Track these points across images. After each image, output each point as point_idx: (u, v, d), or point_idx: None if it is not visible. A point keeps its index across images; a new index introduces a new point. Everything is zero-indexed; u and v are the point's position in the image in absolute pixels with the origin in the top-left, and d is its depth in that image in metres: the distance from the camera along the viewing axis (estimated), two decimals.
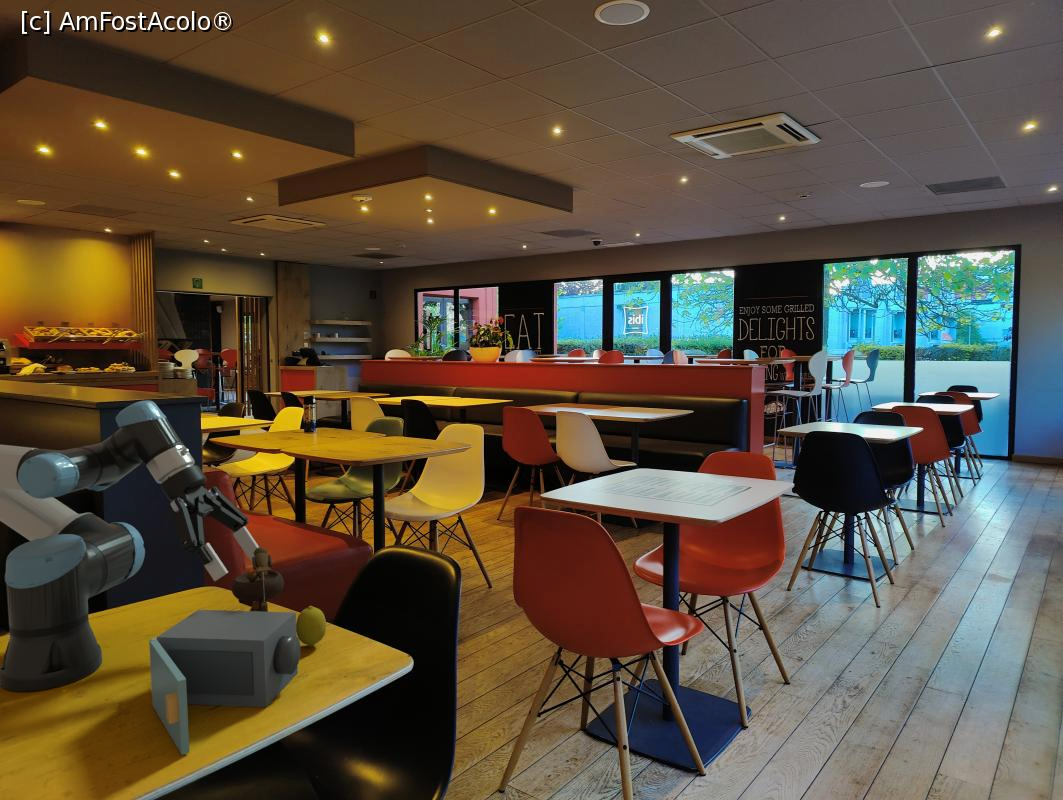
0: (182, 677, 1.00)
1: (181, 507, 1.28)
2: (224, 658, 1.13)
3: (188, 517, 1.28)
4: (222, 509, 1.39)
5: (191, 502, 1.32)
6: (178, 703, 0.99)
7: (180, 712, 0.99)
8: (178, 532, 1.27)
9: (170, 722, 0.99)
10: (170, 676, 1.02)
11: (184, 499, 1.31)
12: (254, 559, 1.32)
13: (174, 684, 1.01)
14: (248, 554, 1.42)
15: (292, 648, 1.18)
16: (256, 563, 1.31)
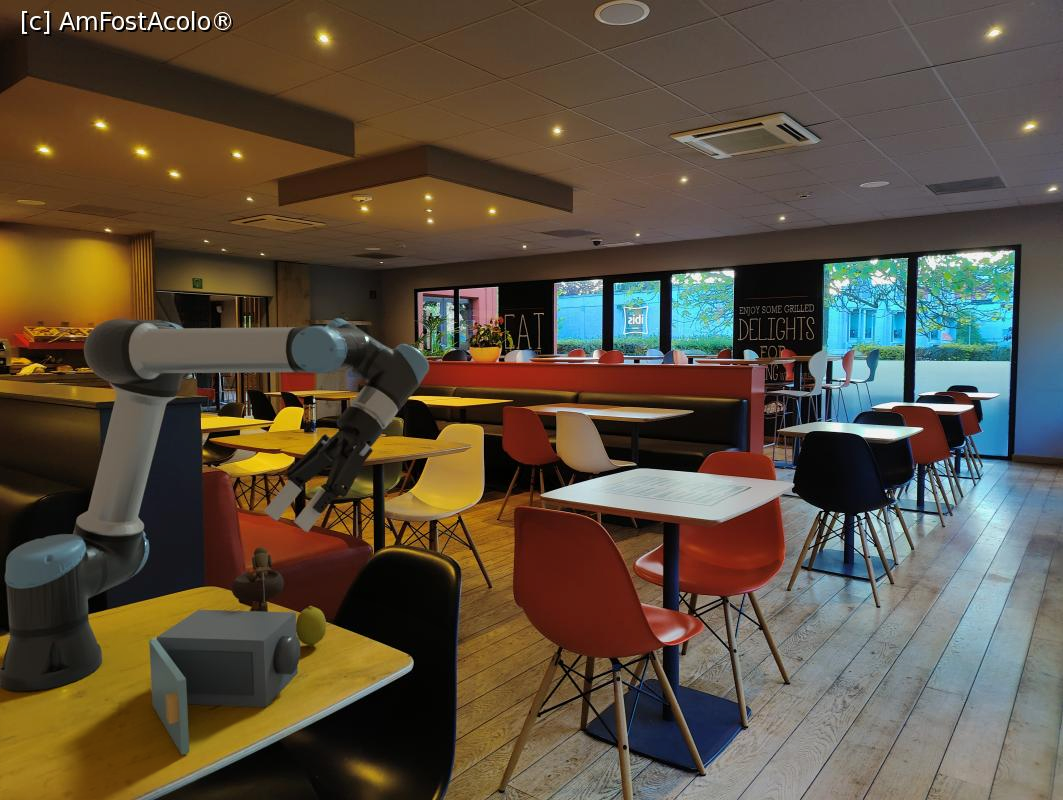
0: (182, 677, 1.00)
1: (365, 458, 1.18)
2: (224, 658, 1.13)
3: None
4: None
5: None
6: (178, 703, 0.99)
7: (180, 712, 0.99)
8: (347, 470, 1.14)
9: (170, 722, 0.99)
10: (170, 676, 1.02)
11: None
12: (254, 559, 1.32)
13: (174, 684, 1.01)
14: (272, 506, 1.19)
15: (292, 648, 1.18)
16: (256, 563, 1.31)
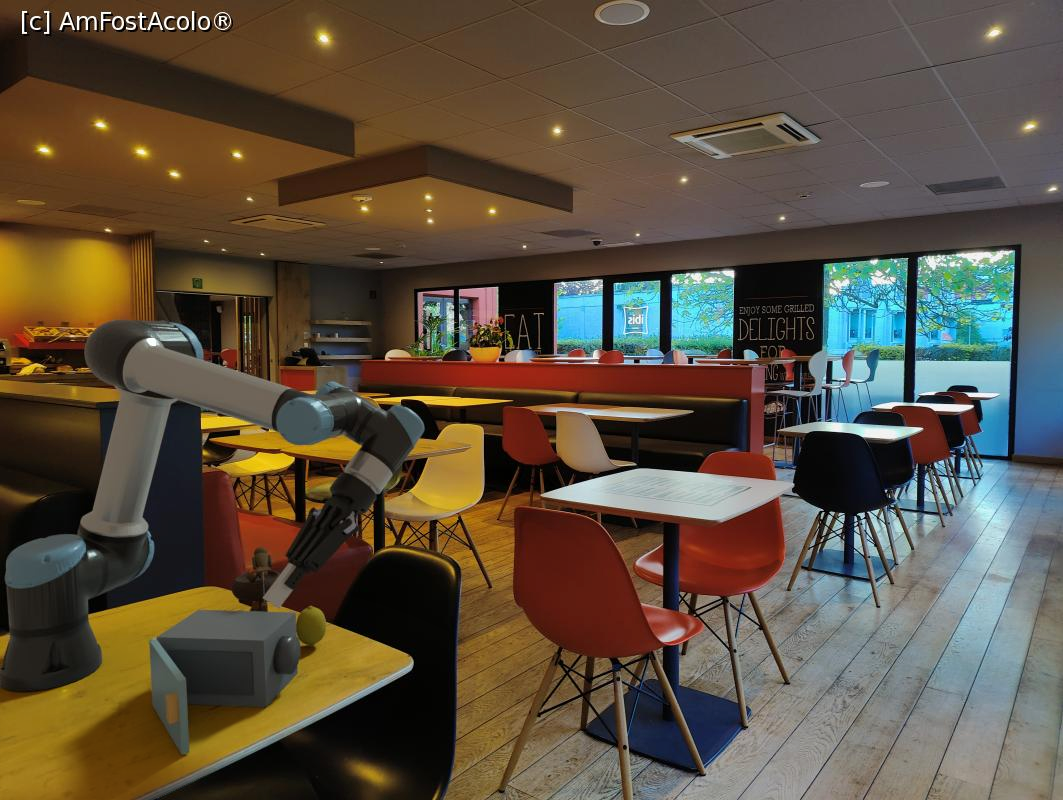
0: (182, 677, 1.00)
1: (349, 536, 1.15)
2: (224, 658, 1.13)
3: None
4: None
5: None
6: (178, 703, 0.99)
7: (180, 712, 0.99)
8: (322, 548, 1.13)
9: (170, 722, 0.99)
10: (170, 676, 1.02)
11: (354, 519, 1.17)
12: (254, 559, 1.32)
13: (174, 684, 1.01)
14: None
15: (292, 648, 1.18)
16: (256, 563, 1.31)
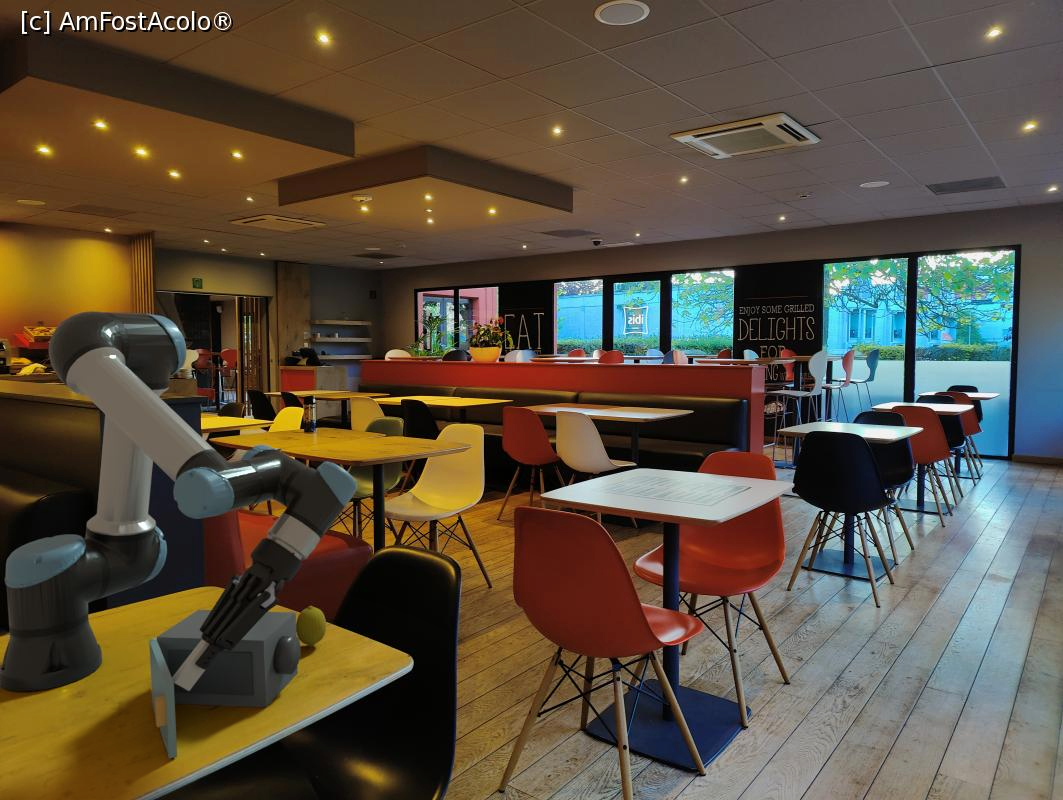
0: (170, 680, 0.99)
1: (267, 610, 1.06)
2: (224, 658, 1.13)
3: None
4: None
5: None
6: (166, 706, 0.99)
7: (168, 715, 0.98)
8: (237, 625, 1.04)
9: (158, 725, 0.99)
10: (161, 678, 1.02)
11: (274, 590, 1.08)
12: None
13: (163, 687, 1.00)
14: None
15: (292, 648, 1.18)
16: None
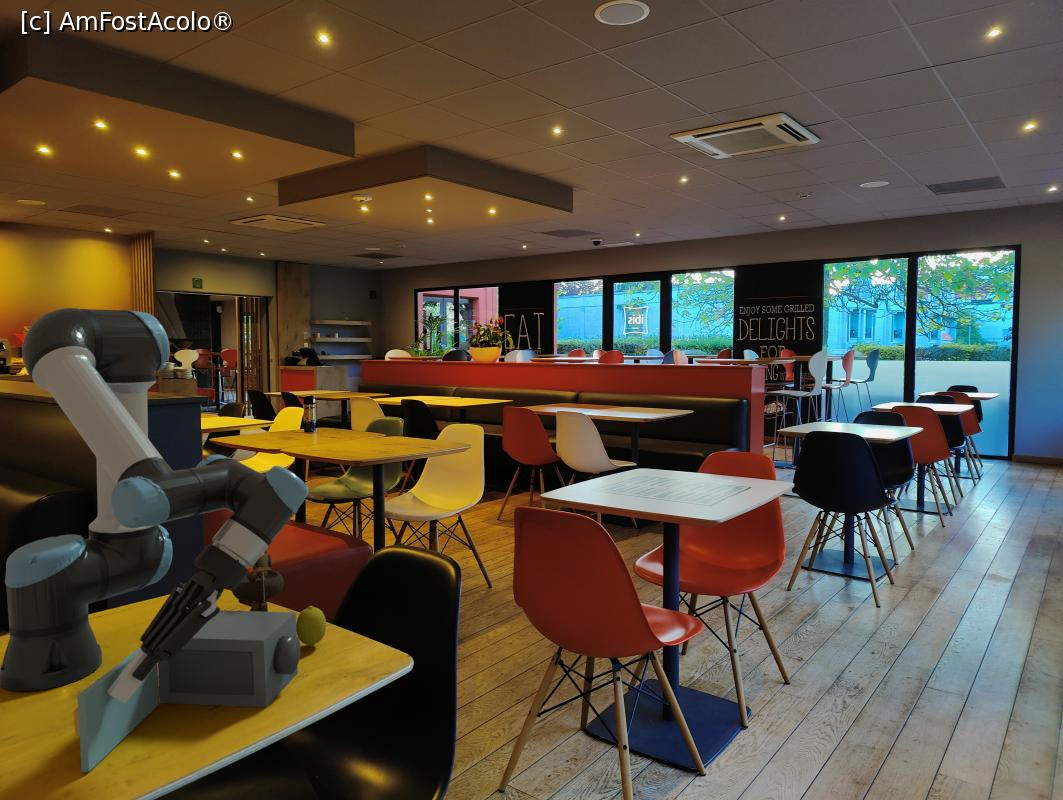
0: (86, 692, 0.96)
1: (208, 619, 1.03)
2: (224, 658, 1.13)
3: None
4: None
5: None
6: None
7: (80, 728, 0.95)
8: (176, 635, 1.01)
9: (76, 734, 0.96)
10: None
11: (216, 598, 1.05)
12: None
13: None
14: None
15: (292, 648, 1.18)
16: (256, 563, 1.31)
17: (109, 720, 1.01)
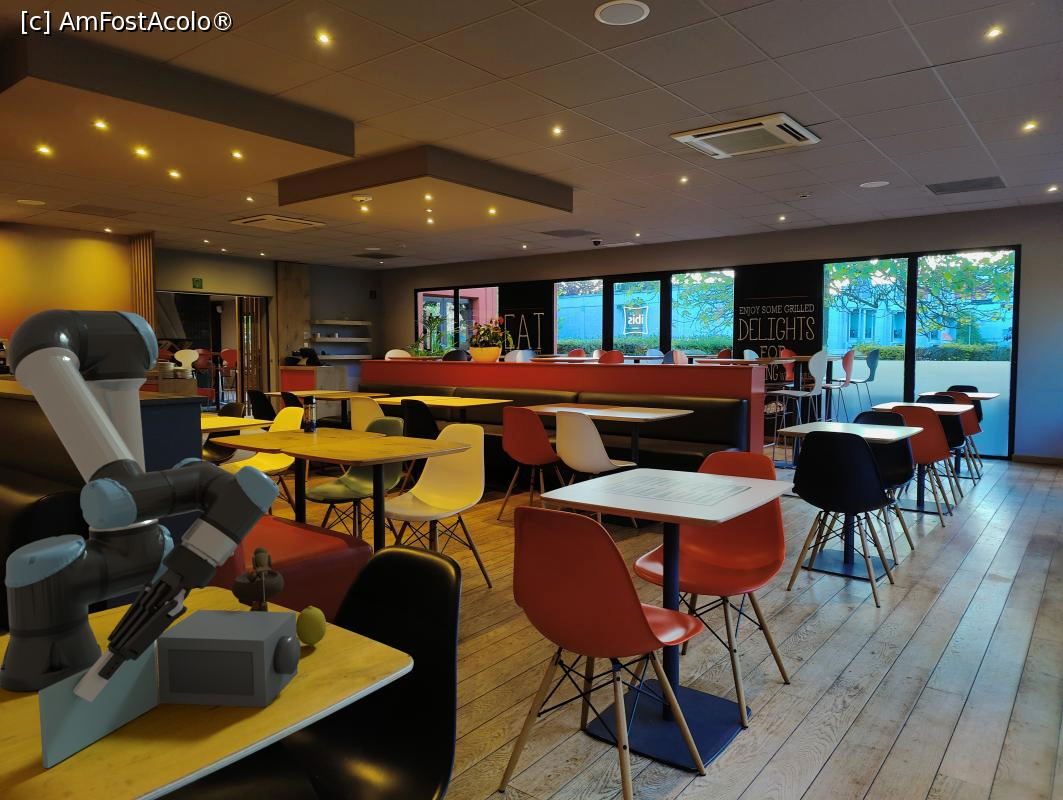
0: (48, 689, 0.97)
1: (175, 619, 1.03)
2: (224, 658, 1.13)
3: None
4: None
5: None
6: None
7: (41, 723, 0.97)
8: (142, 634, 1.01)
9: None
10: None
11: (184, 598, 1.05)
12: (254, 559, 1.32)
13: None
14: None
15: (292, 648, 1.18)
16: (256, 563, 1.31)
17: (80, 718, 1.01)
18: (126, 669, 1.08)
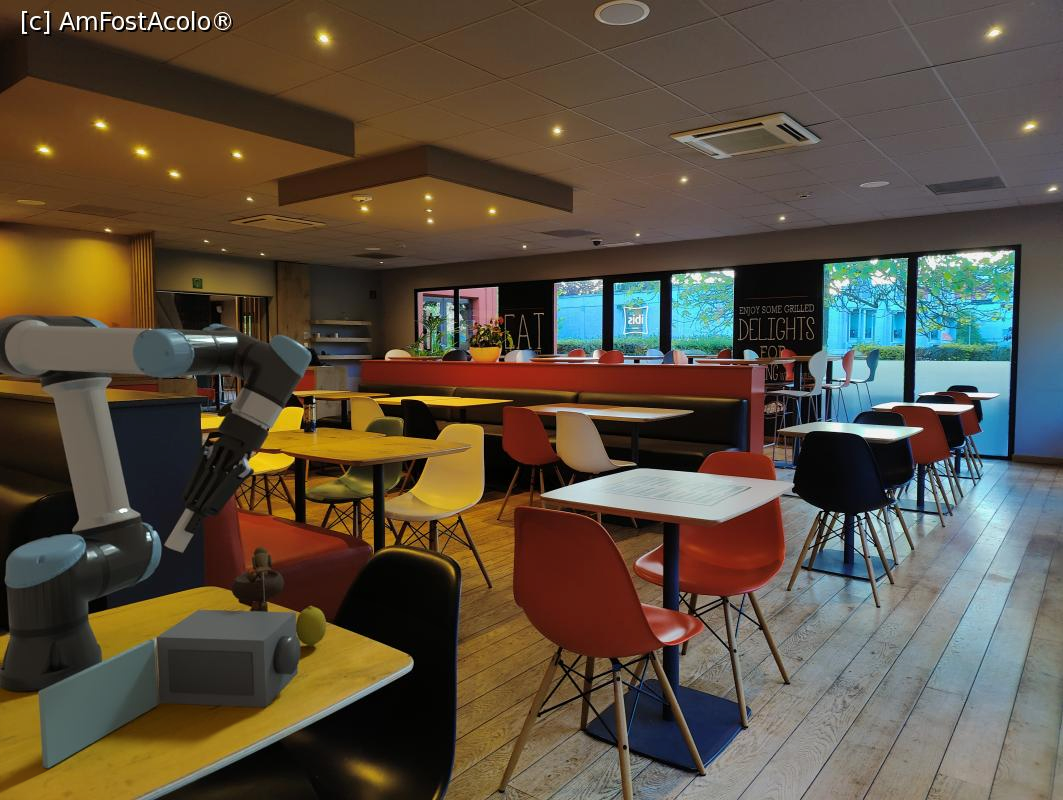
0: (48, 689, 0.97)
1: (244, 479, 1.16)
2: (224, 658, 1.13)
3: None
4: None
5: None
6: None
7: (41, 723, 0.97)
8: (219, 495, 1.14)
9: None
10: None
11: (247, 460, 1.17)
12: (254, 559, 1.32)
13: None
14: None
15: (292, 648, 1.18)
16: (256, 563, 1.31)
17: (80, 718, 1.01)
18: (126, 669, 1.08)
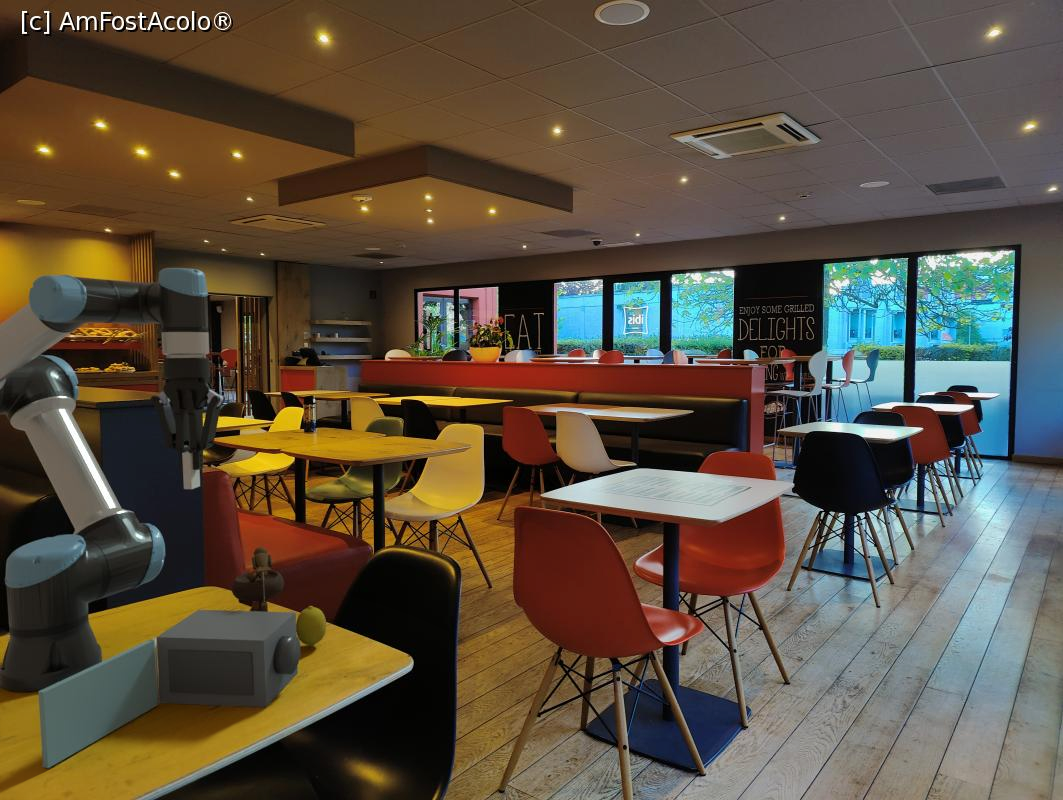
0: (48, 689, 0.97)
1: (220, 406, 1.27)
2: (224, 658, 1.13)
3: None
4: None
5: None
6: None
7: (41, 723, 0.97)
8: (210, 429, 1.26)
9: None
10: None
11: (211, 390, 1.27)
12: (254, 559, 1.32)
13: None
14: None
15: (292, 648, 1.18)
16: (256, 563, 1.31)
17: (80, 718, 1.01)
18: (126, 669, 1.08)
